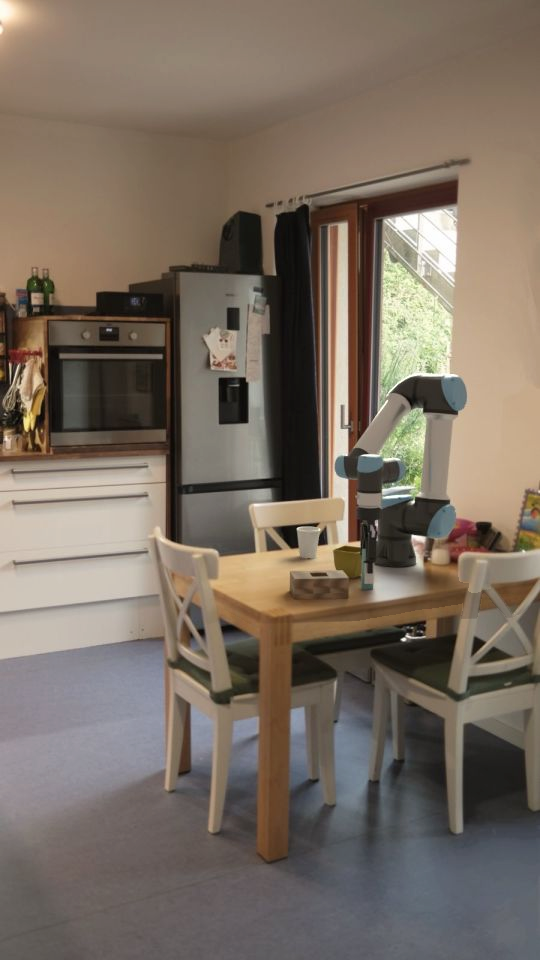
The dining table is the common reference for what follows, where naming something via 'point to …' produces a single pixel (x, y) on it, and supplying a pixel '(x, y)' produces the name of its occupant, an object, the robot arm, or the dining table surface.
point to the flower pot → (348, 560)
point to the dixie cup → (308, 541)
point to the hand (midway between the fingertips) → (367, 581)
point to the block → (319, 584)
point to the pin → (364, 586)
